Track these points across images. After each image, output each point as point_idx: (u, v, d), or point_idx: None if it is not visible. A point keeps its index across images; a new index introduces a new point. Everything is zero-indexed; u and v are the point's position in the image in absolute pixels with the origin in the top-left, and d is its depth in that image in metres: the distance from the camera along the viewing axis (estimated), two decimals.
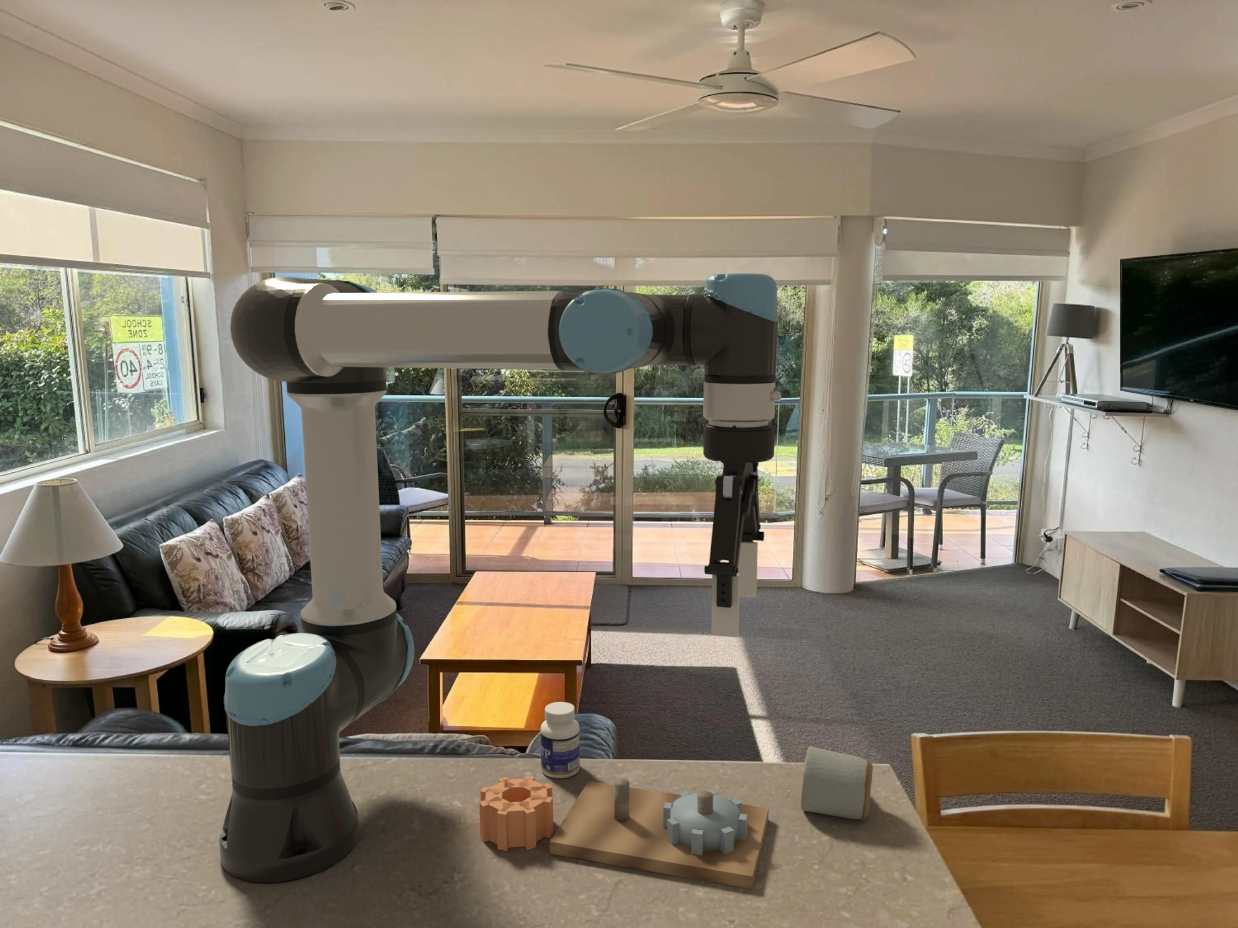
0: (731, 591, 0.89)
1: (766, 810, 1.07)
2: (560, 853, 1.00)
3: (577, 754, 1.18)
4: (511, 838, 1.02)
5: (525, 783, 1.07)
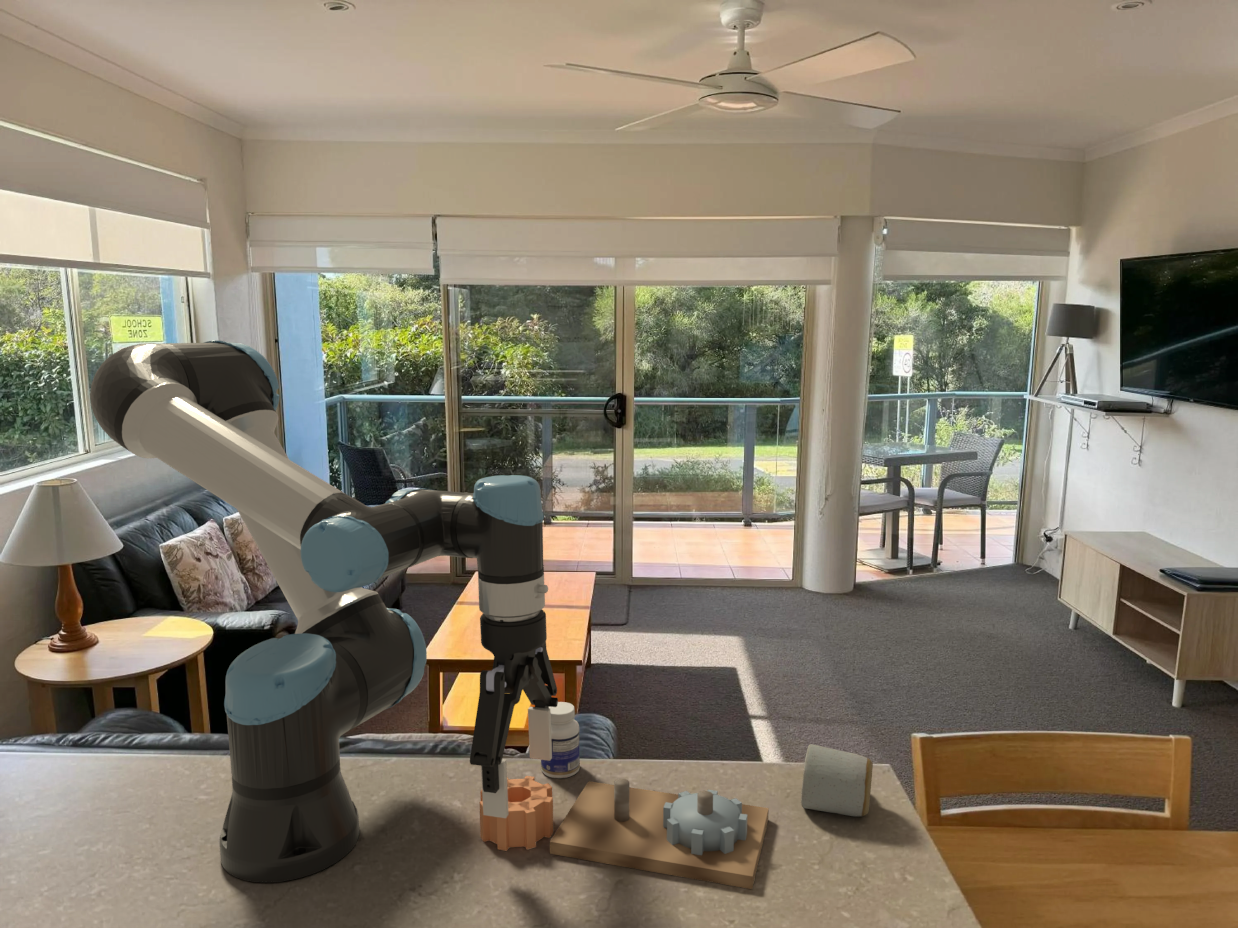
0: (496, 777, 0.96)
1: (766, 810, 1.07)
2: (560, 853, 1.00)
3: (577, 754, 1.18)
4: (511, 838, 1.02)
5: (525, 783, 1.07)
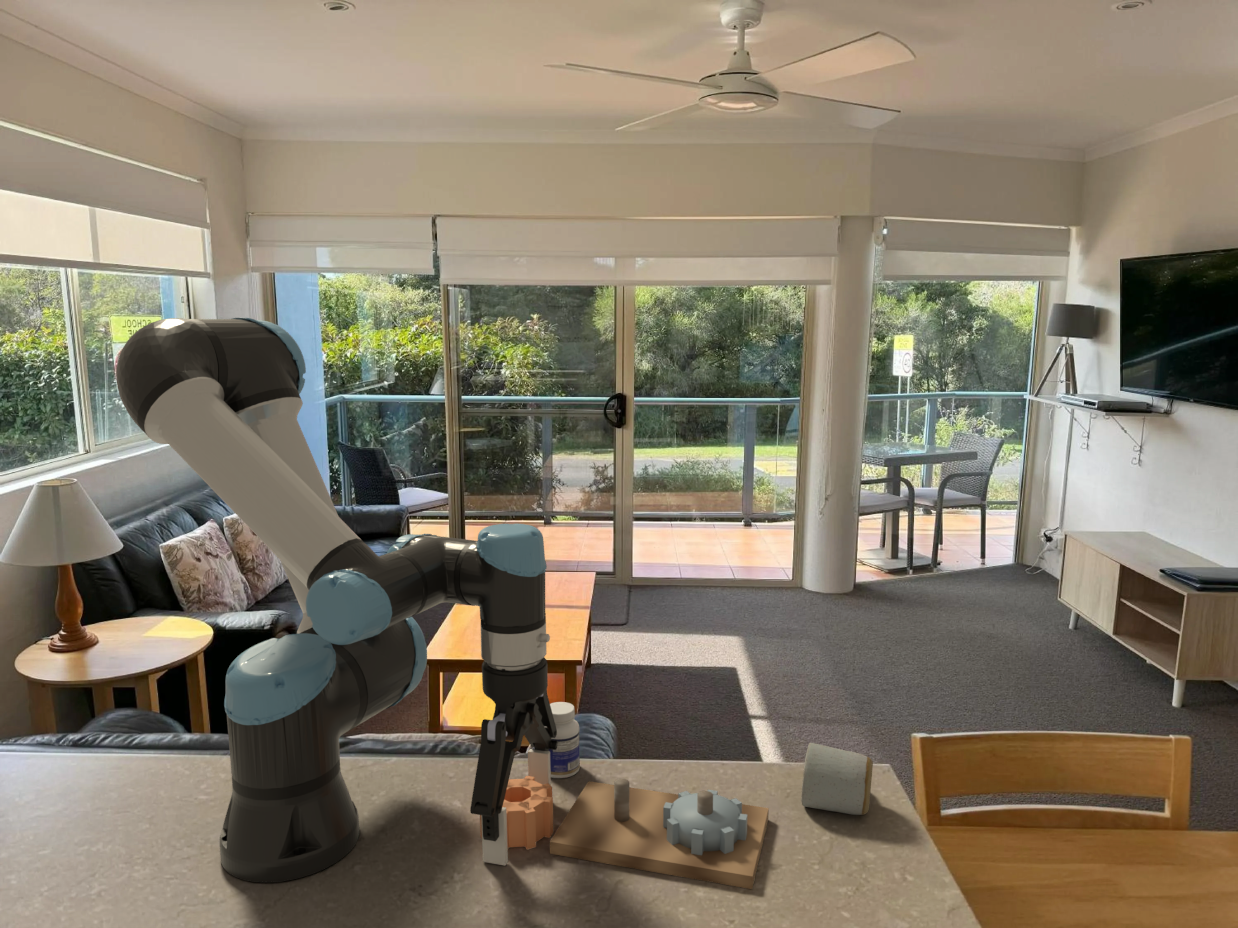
0: (496, 825, 0.97)
1: (766, 810, 1.07)
2: (560, 853, 1.00)
3: (577, 754, 1.18)
4: (511, 838, 1.02)
5: (525, 783, 1.07)
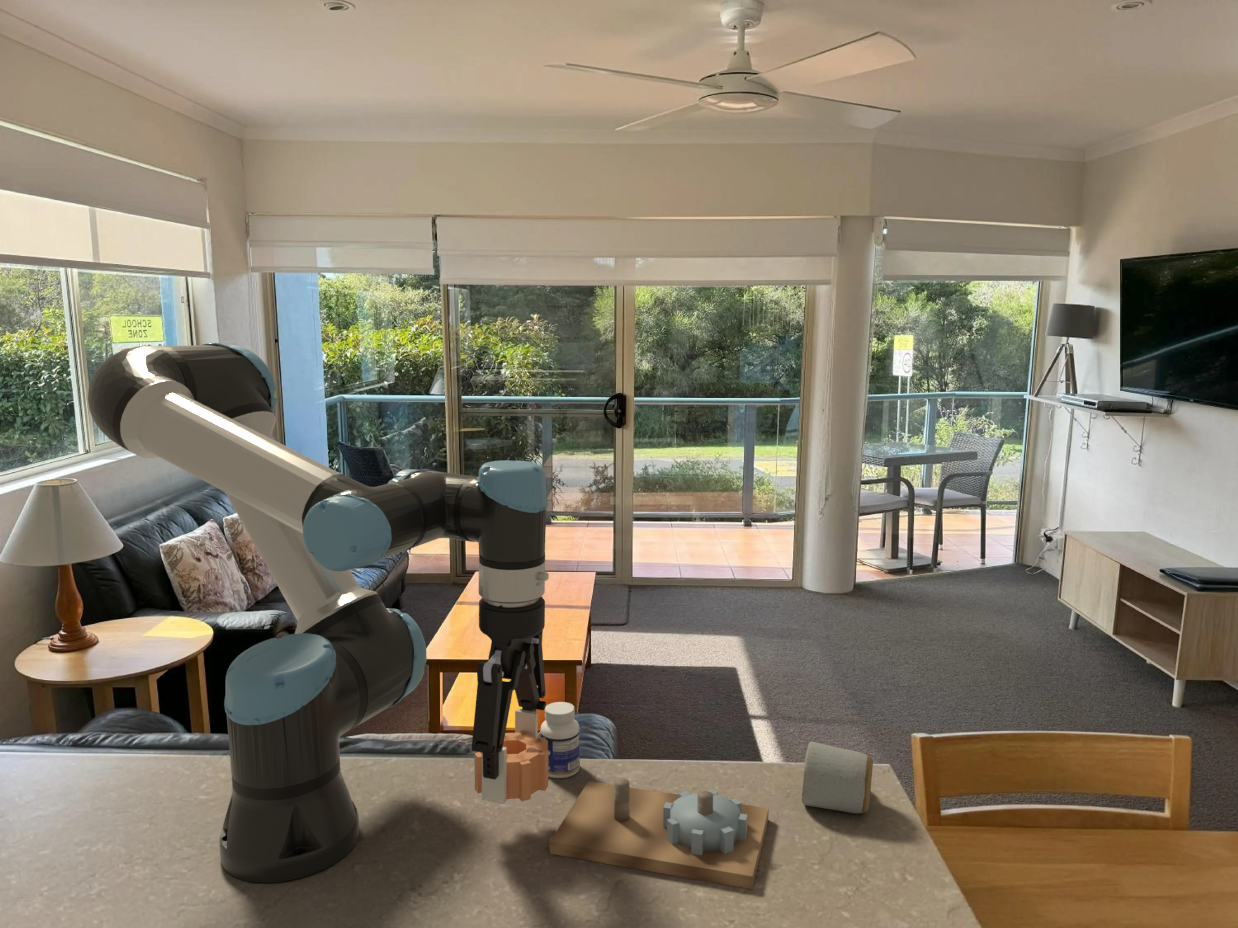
0: (496, 764, 0.98)
1: (766, 810, 1.07)
2: (560, 853, 1.00)
3: (577, 754, 1.18)
4: (506, 790, 1.01)
5: (521, 737, 1.07)
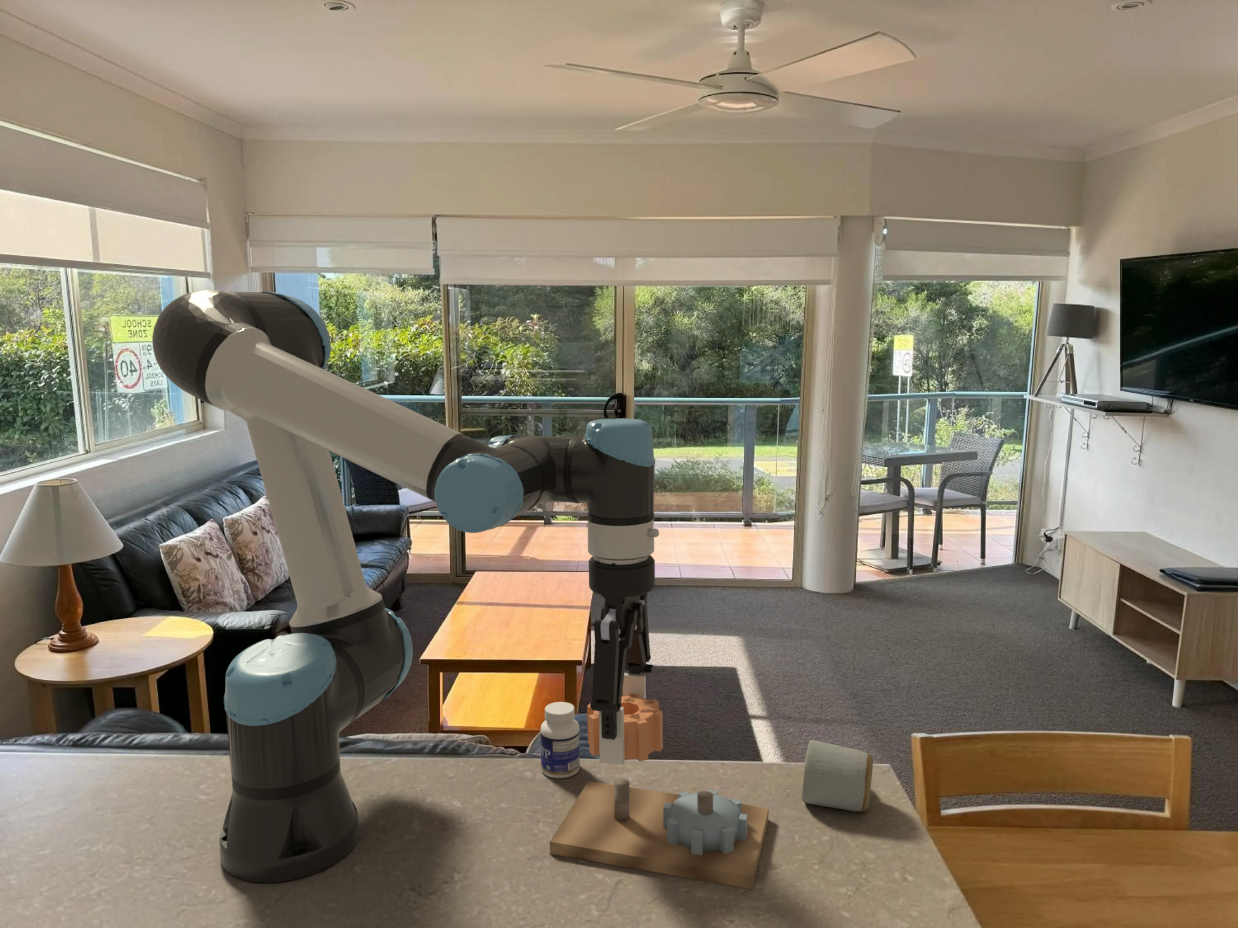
0: (615, 724, 0.97)
1: (766, 810, 1.07)
2: (560, 853, 1.00)
3: (577, 754, 1.18)
4: None
5: (631, 699, 1.05)
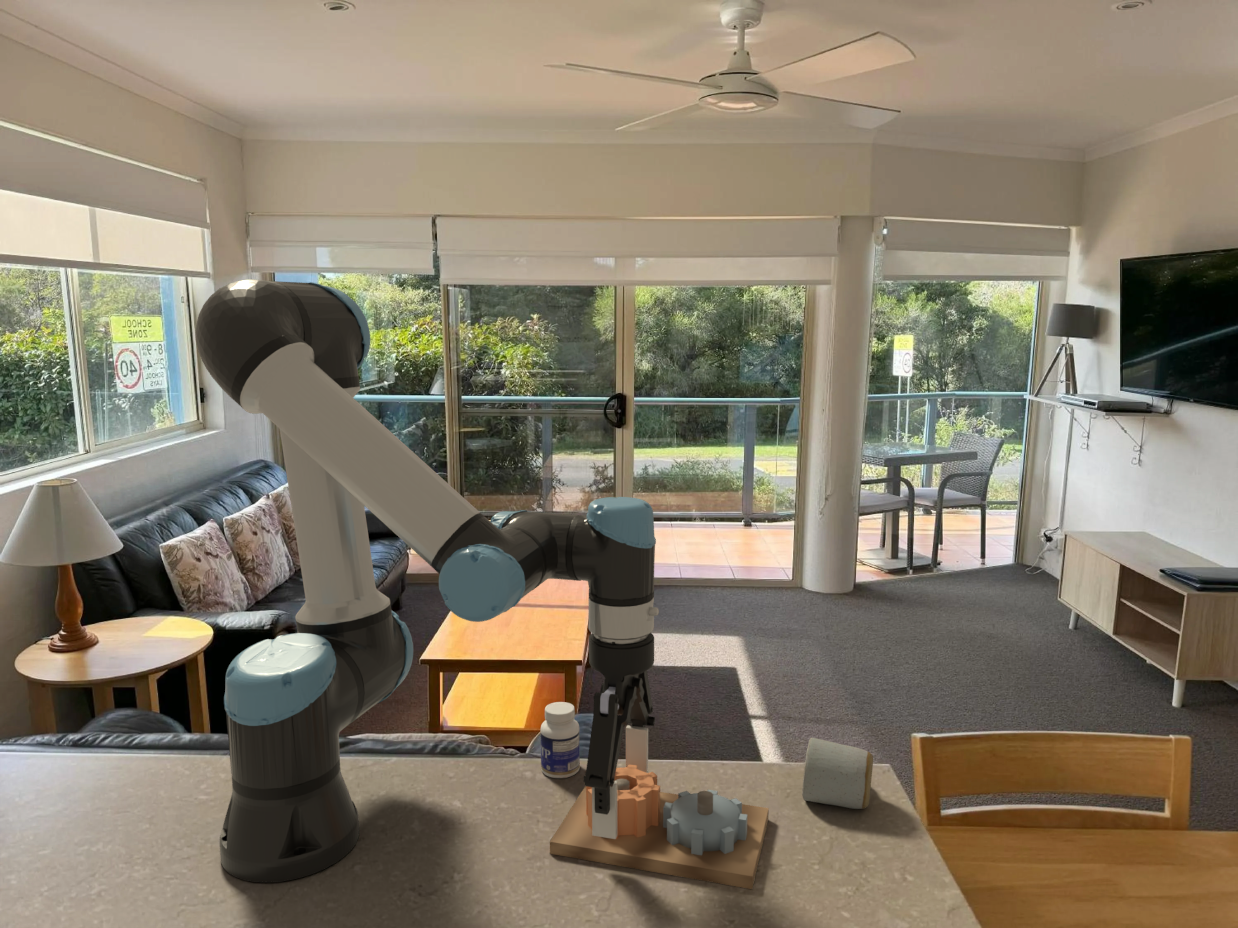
0: (608, 799, 0.97)
1: (766, 810, 1.07)
2: (560, 853, 1.00)
3: (577, 754, 1.18)
4: (621, 826, 1.01)
5: (630, 772, 1.07)
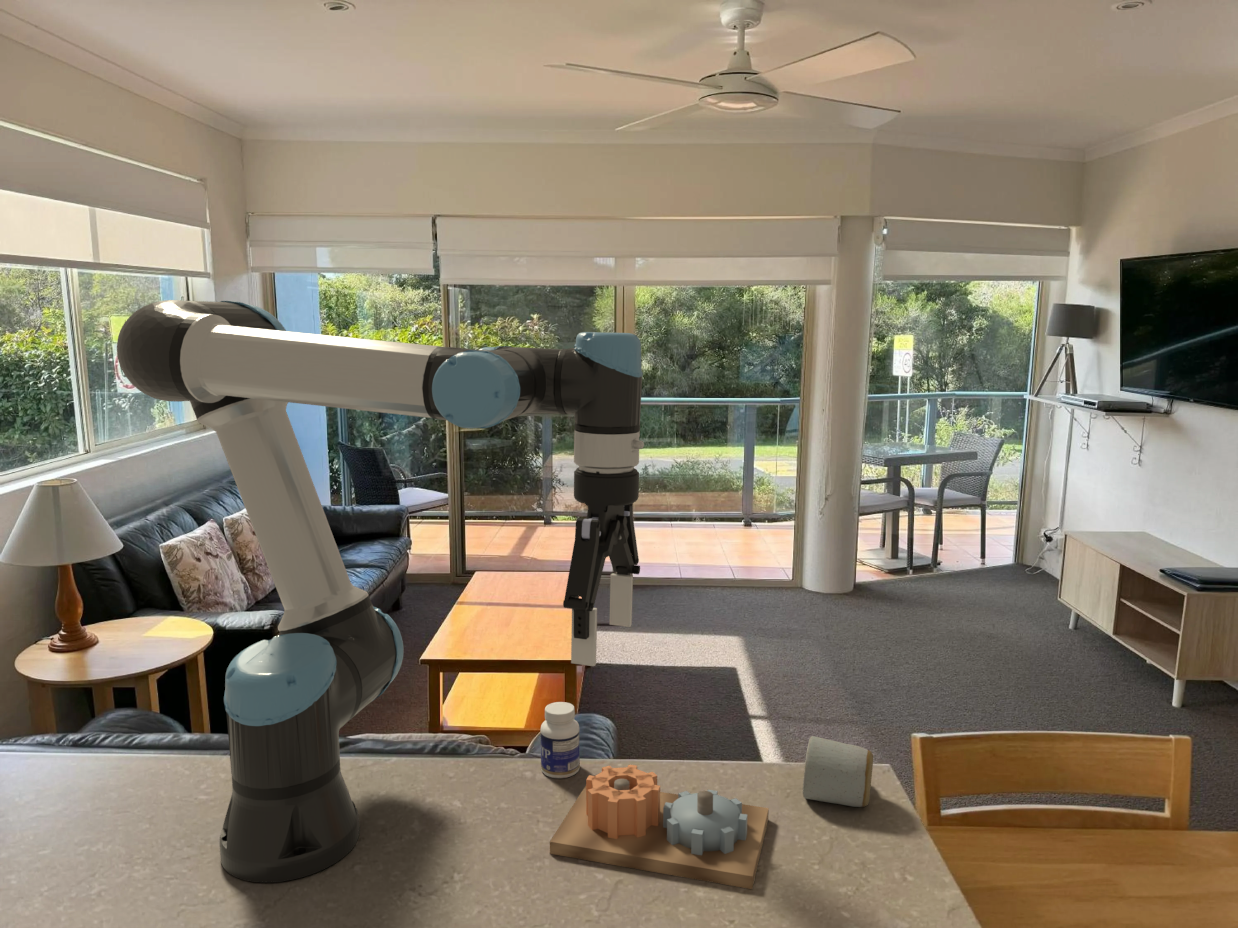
0: (587, 624, 0.97)
1: (766, 810, 1.07)
2: (560, 853, 1.00)
3: (577, 754, 1.18)
4: (621, 826, 1.01)
5: (630, 772, 1.07)
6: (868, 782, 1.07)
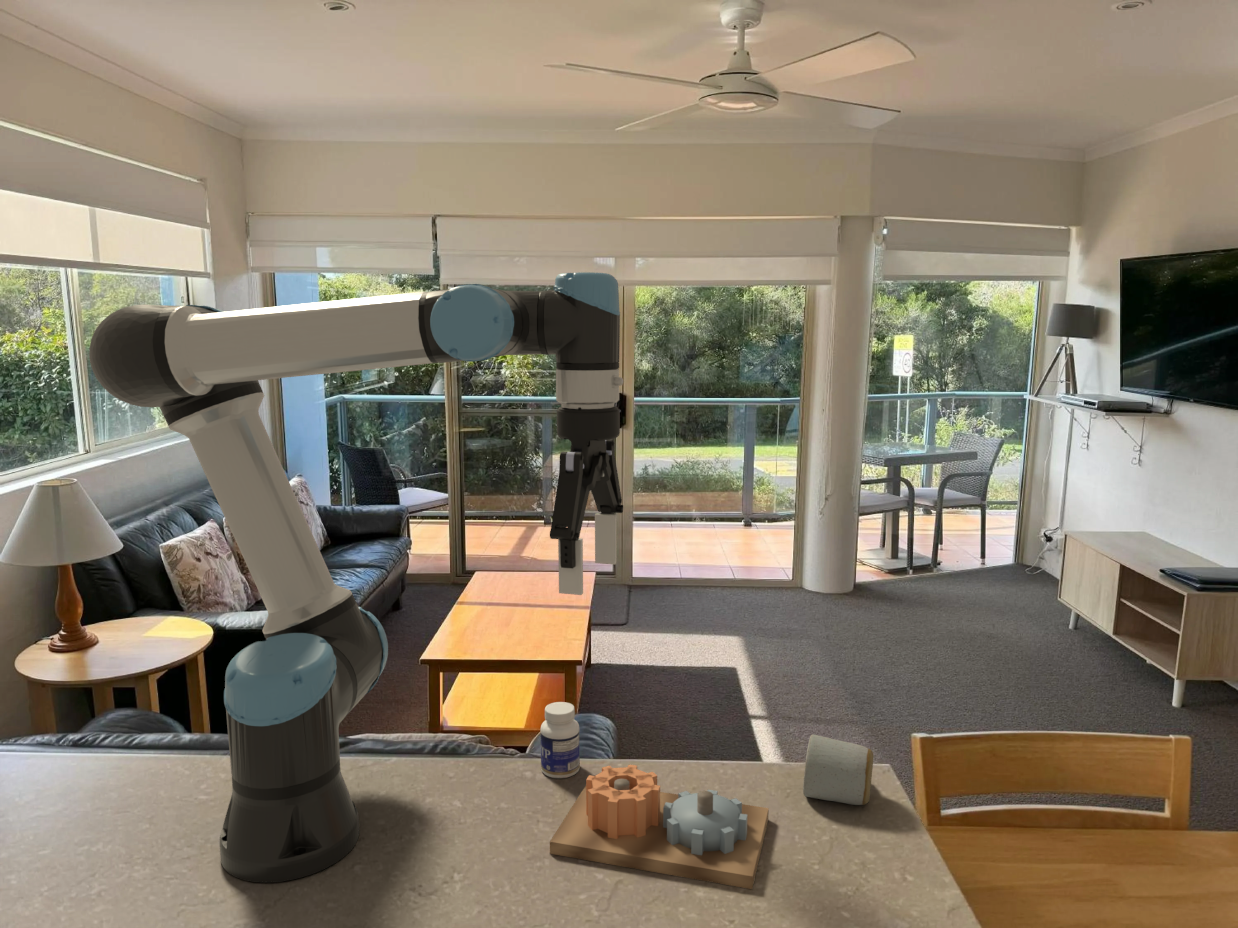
0: (574, 554, 1.00)
1: (766, 810, 1.07)
2: (560, 853, 1.00)
3: (577, 754, 1.18)
4: (621, 826, 1.01)
5: (630, 772, 1.07)
6: (868, 780, 1.08)
